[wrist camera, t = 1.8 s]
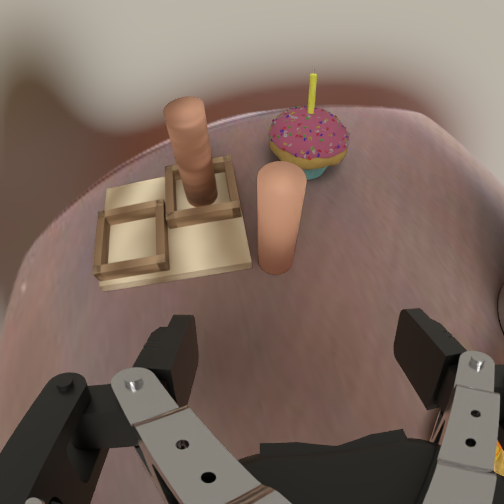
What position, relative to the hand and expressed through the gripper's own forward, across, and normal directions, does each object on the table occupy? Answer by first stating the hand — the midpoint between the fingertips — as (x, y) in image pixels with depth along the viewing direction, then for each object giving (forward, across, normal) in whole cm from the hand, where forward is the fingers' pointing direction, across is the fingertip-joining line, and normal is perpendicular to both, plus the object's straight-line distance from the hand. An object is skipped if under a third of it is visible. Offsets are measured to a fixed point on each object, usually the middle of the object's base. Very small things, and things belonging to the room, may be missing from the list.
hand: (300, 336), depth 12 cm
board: (+21, +10, 0) cm, 23 cm away
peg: (+18, 0, +3) cm, 18 cm away
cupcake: (+27, -4, -6) cm, 28 cm away
